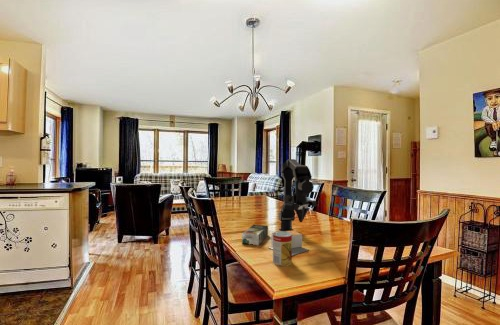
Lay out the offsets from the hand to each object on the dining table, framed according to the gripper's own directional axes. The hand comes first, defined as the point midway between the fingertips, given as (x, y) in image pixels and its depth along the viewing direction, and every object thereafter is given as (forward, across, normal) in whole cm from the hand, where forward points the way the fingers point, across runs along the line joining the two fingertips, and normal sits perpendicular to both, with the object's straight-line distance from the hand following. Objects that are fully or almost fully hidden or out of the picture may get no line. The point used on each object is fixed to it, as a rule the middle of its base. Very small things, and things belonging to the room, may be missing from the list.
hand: (300, 222), depth 132 cm
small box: (+8, +1, -1) cm, 8 cm away
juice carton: (+12, +11, -22) cm, 28 cm away
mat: (+12, +9, 0) cm, 15 cm away
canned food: (+12, +23, +9) cm, 27 cm away
